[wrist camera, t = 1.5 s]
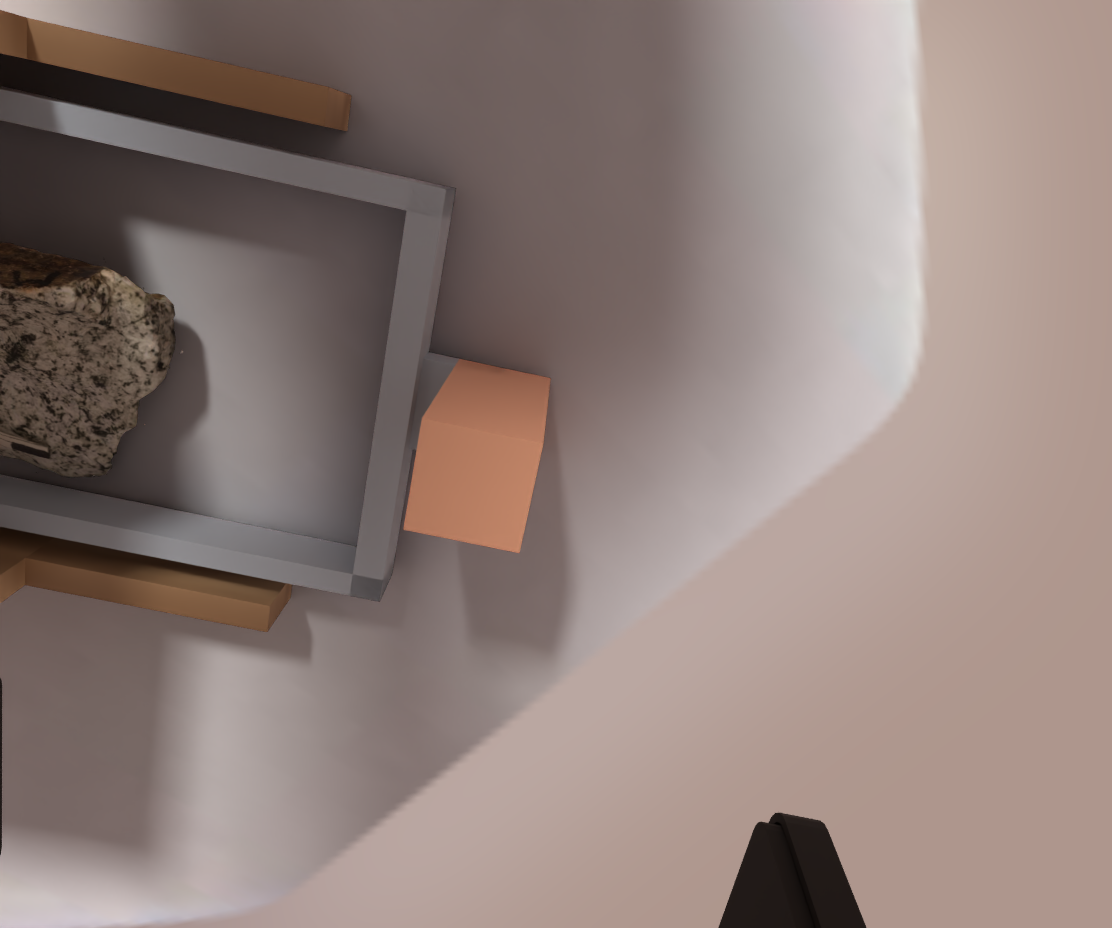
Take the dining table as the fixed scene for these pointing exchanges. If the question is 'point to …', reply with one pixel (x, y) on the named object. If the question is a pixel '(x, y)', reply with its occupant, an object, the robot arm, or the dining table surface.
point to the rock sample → (75, 359)
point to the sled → (402, 414)
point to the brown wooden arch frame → (107, 573)
